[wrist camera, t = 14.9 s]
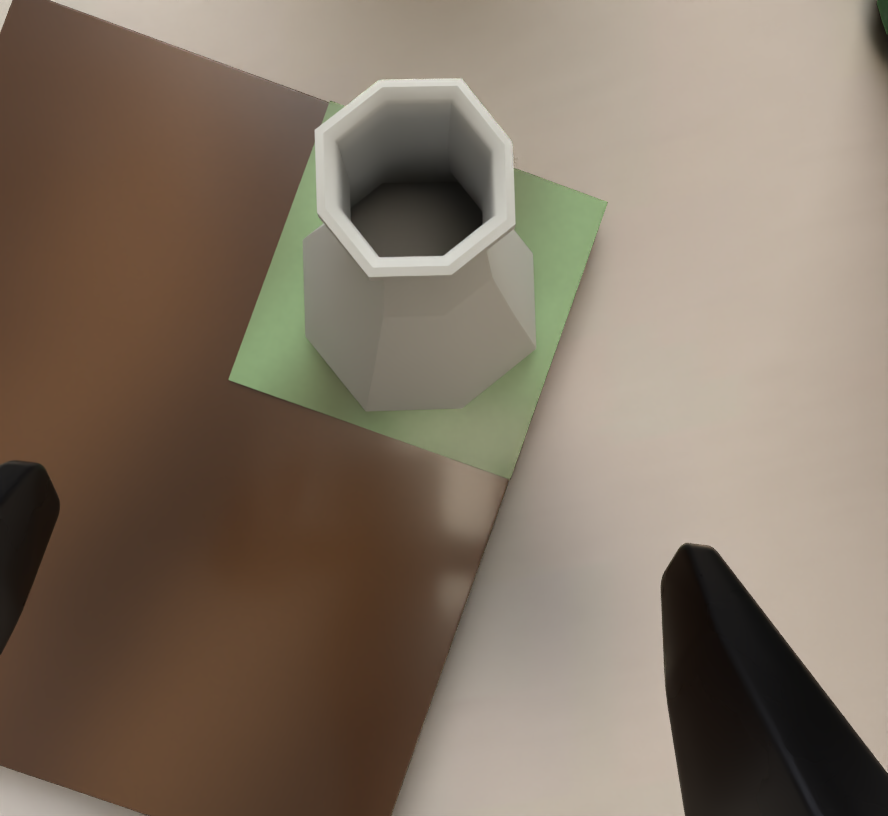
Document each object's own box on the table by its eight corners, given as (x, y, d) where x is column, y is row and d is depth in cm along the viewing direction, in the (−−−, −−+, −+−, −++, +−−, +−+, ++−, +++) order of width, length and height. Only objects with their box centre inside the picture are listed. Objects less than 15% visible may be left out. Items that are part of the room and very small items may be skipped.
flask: (572, 367, 20) (717, 318, 10) (348, 450, 20) (272, 481, 10) (490, 144, 20) (553, -122, 10) (265, 224, 20) (107, 31, 10)
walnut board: (-209, 667, 21) (-252, 684, 19) (39, 11, 21) (14, -15, 20) (369, 863, 21) (365, 891, 20) (596, 215, 22) (607, 201, 20)
